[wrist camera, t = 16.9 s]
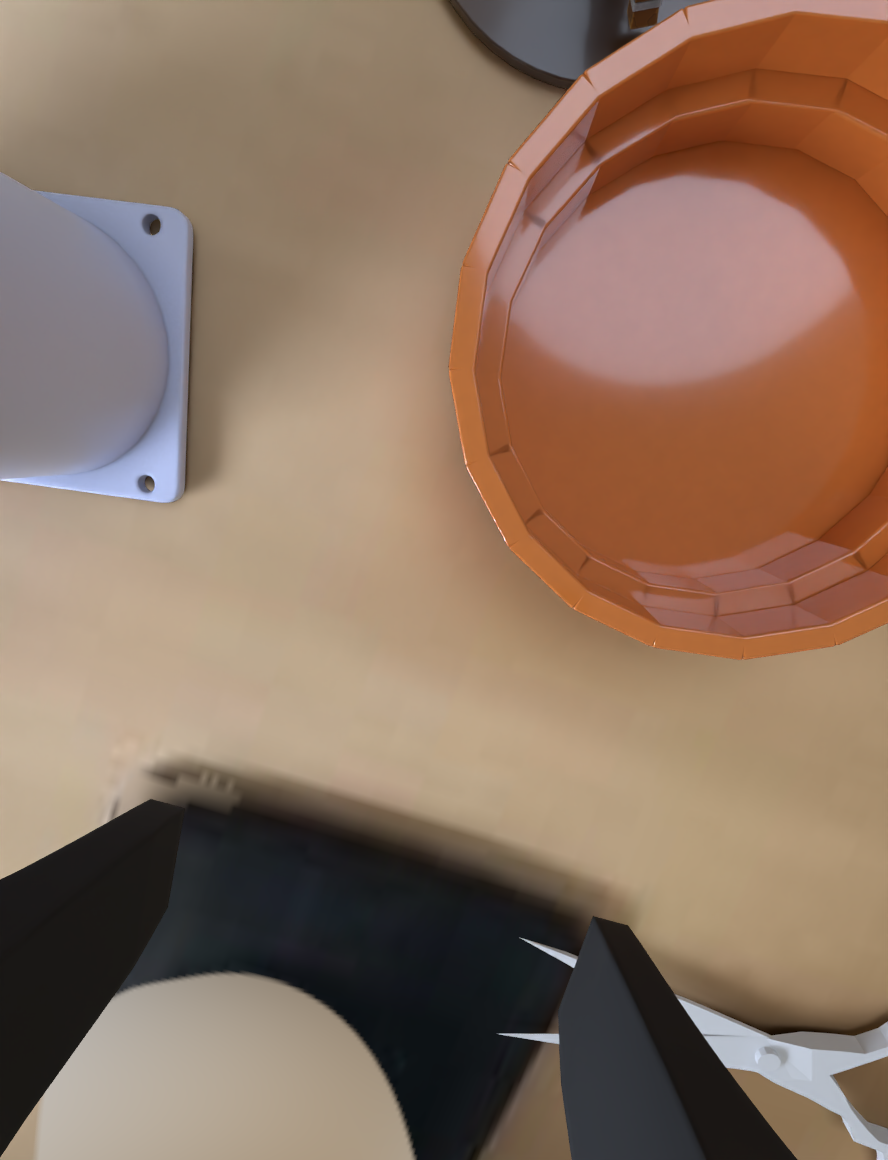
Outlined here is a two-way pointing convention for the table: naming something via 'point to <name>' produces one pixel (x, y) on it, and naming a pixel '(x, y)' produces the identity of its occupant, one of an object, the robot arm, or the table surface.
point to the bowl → (695, 333)
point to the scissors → (783, 1058)
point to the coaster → (555, 32)
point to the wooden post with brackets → (643, 13)
